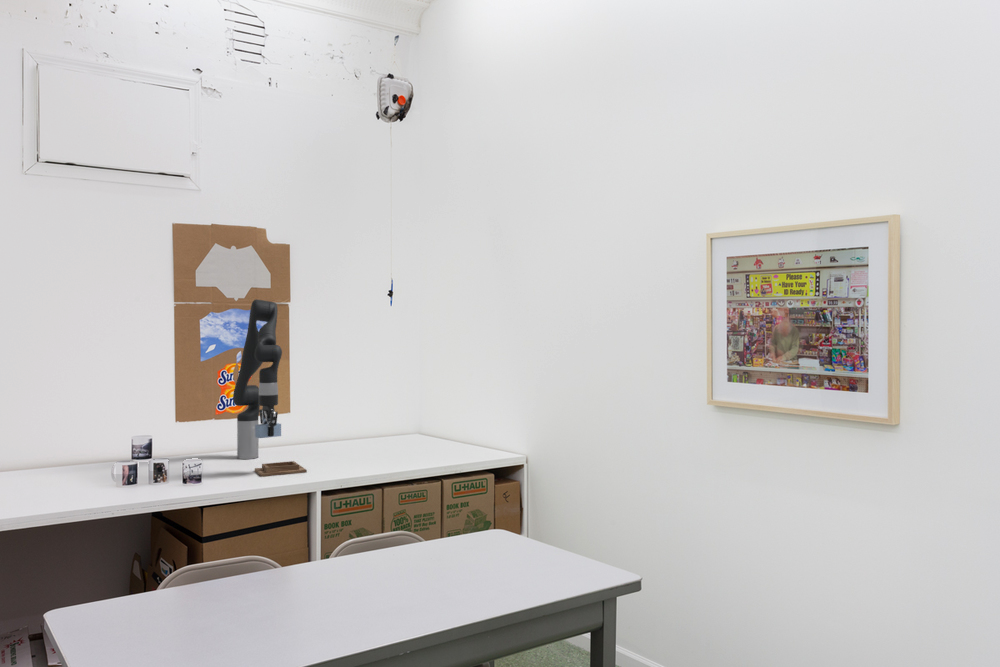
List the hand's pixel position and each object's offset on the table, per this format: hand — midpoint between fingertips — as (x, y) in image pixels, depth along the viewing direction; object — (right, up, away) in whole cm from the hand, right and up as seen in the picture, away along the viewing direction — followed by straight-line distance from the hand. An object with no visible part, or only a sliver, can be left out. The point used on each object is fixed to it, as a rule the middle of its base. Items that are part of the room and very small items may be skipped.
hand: (268, 435), depth 287 cm
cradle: (+4, -15, +2) cm, 16 cm away
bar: (0, -1, 0) cm, 1 cm away
